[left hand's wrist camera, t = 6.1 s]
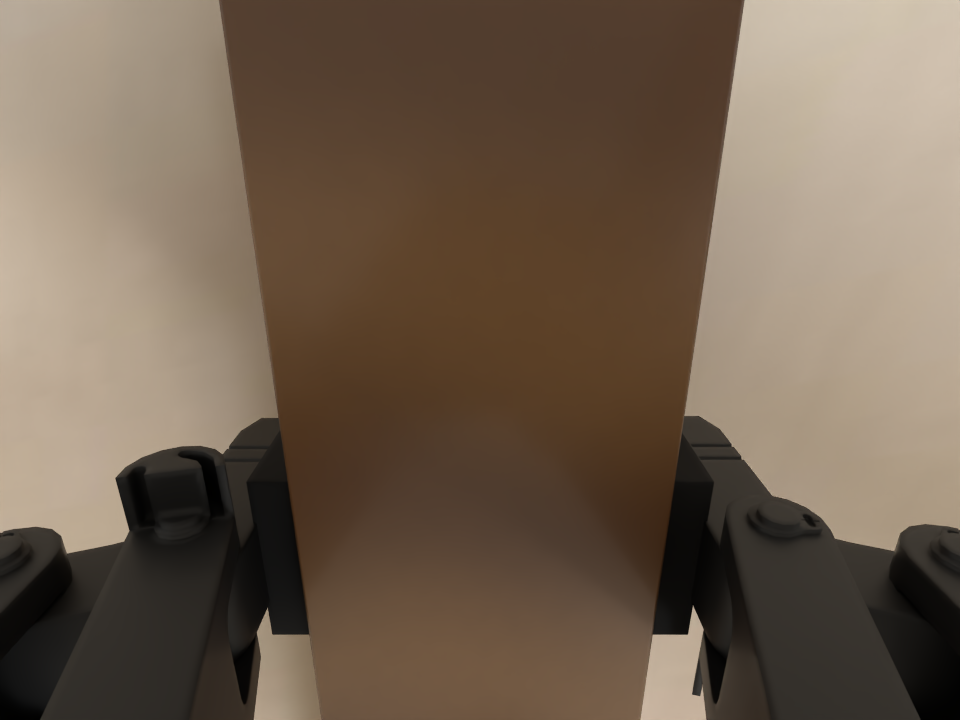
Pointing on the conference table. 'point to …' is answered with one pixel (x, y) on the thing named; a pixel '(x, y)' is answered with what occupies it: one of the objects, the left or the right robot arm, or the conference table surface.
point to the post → (481, 330)
